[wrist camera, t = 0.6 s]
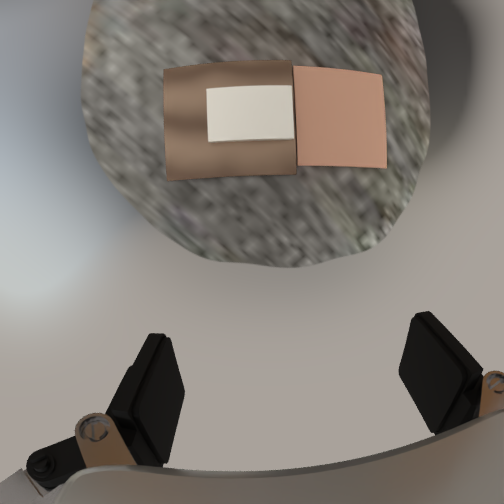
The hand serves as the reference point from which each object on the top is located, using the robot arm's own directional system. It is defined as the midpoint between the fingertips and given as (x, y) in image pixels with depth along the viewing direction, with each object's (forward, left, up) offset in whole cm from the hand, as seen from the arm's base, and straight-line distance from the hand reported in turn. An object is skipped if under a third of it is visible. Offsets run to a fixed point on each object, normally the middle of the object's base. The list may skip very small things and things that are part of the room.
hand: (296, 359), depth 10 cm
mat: (-13, +10, -27) cm, 32 cm away
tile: (-12, -1, -25) cm, 28 cm away
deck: (-12, -4, -27) cm, 30 cm away
